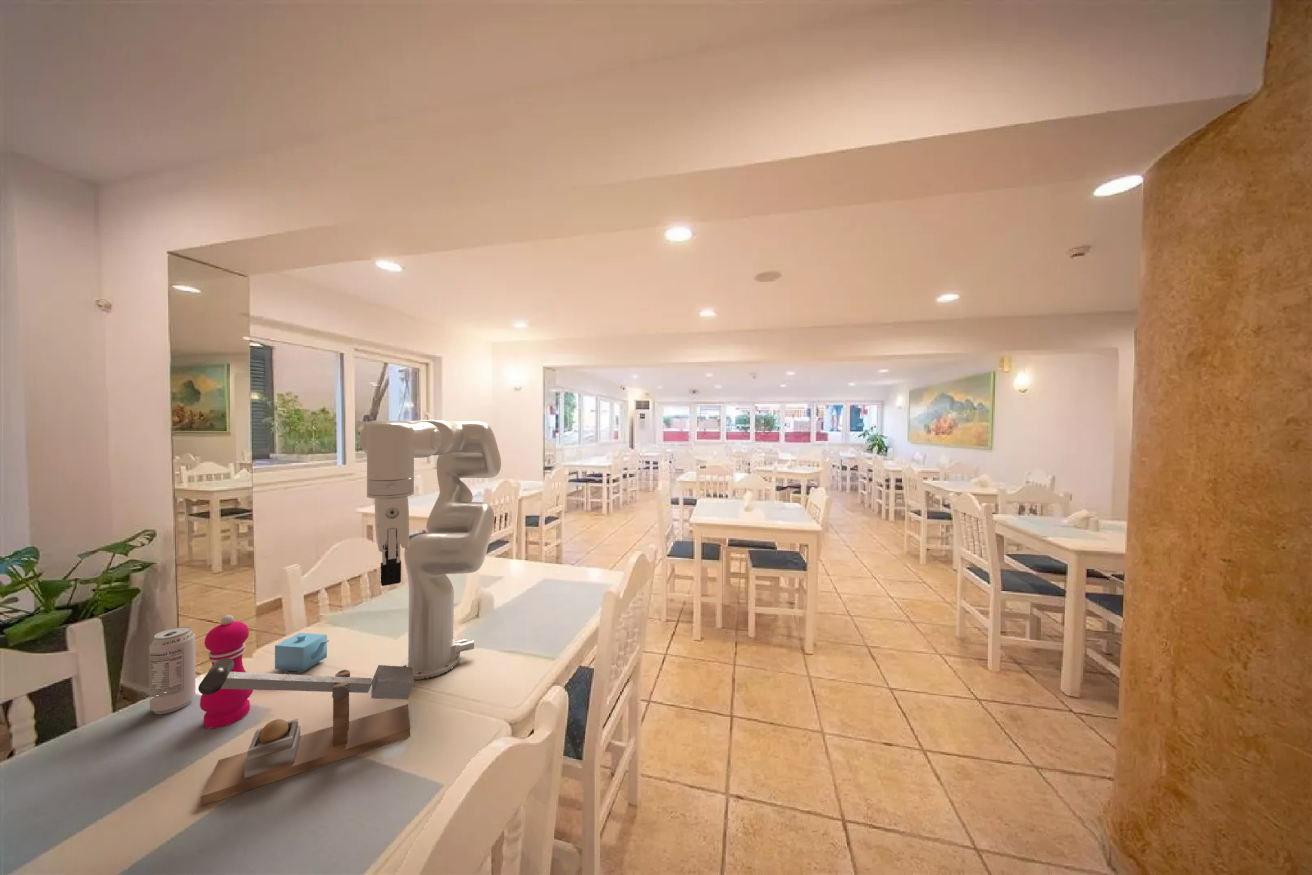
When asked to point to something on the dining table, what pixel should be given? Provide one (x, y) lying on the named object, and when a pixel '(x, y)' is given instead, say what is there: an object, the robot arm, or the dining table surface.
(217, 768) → the stand
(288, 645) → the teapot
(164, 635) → the energy drink can
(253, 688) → the lever
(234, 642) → the pepper mill
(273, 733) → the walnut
